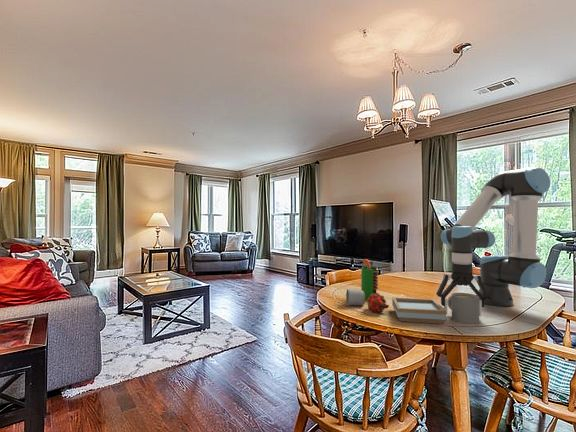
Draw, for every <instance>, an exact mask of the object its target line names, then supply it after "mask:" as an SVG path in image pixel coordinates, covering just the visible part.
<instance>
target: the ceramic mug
mask: <svg viewBox="0 0 576 432" xmlns="http://www.w3.org/2000/svg"><path fill="white" fill-rule="evenodd" d="M345 293H346V294H345V298H346V299H345V300H346V302H345V303H346V305H347V306H363V305H365V302H366V299H365V293H364V291H362V290H361V289H353V288H347V289H346V292H345Z"/></svg>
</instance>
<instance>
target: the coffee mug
mask: <svg viewBox="0 0 576 432" xmlns="http://www.w3.org/2000/svg"><path fill="white" fill-rule="evenodd" d="M447 307H448V308H449V309H450V310H451V319H452V320H453V321H455V322H457V323H463V324H467V323H468V325H469V324H470V325H475V324H479V323H480V316H479V296H477V295H476V294H475V293H474V294H473V293H469V292H453V293H451V294H450V296H448V298H447Z"/></svg>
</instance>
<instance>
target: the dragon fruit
mask: <svg viewBox="0 0 576 432" xmlns="http://www.w3.org/2000/svg"><path fill="white" fill-rule="evenodd" d="M366 302H367V307H368V308H367V309H368V310H371V311H373V313H375V314H379V311H380V312H384V311H385V309H388V308H389V307H390V304H388V302H387V300H386V299H385V297H384V295H381V294H380V293H378V292H376V293H373V294H371V295H370V296H369V297H368V300H367V299H366Z"/></svg>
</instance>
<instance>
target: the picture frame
mask: <svg viewBox="0 0 576 432" xmlns="http://www.w3.org/2000/svg"><path fill="white" fill-rule="evenodd" d="M391 298H392V299H391V300H392V302H391V304H392V305H391V306H392V307H393V310H394V312H395V314H396V316H397V317H398V321H400V322H410V323H411V322H412V323H428V324H429V323H430V324H443V321H446V320H447V314H446V310H445V309H444V306H442V305H441V303H439V302H438V301H437V300H436V299H435V298H416V297H415V298H414V297H413V298H412V297H391Z"/></svg>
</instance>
